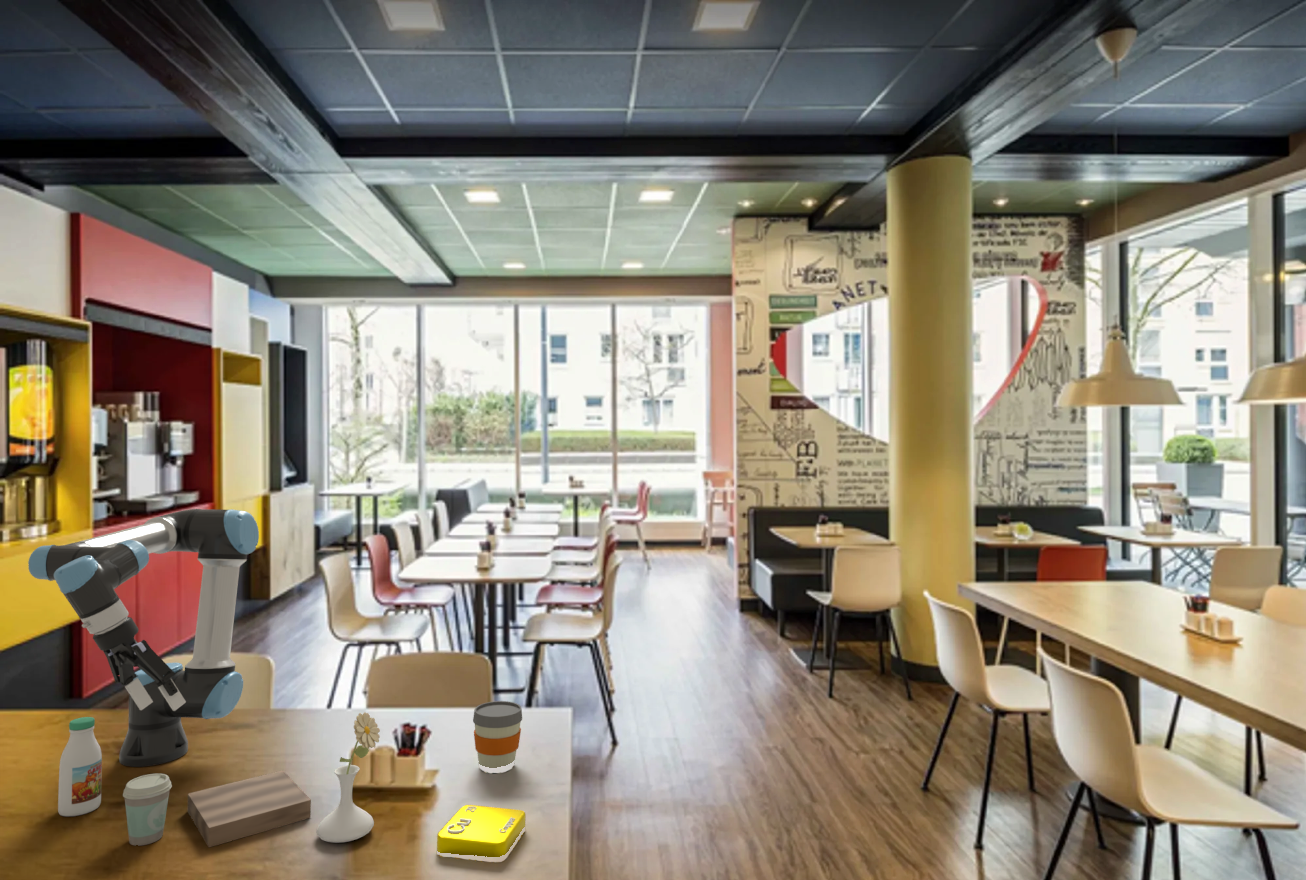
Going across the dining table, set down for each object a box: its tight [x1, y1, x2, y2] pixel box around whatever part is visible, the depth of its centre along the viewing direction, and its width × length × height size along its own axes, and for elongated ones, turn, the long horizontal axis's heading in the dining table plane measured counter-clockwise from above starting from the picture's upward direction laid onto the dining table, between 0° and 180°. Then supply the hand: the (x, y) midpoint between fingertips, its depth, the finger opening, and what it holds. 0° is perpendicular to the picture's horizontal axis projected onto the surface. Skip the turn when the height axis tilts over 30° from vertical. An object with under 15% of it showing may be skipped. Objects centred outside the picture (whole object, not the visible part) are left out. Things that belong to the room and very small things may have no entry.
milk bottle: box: [57, 716, 103, 817], centre depth 173 cm, size 8×8×20 cm
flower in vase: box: [316, 711, 381, 844], centre depth 165 cm, size 13×11×25 cm
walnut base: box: [187, 769, 312, 848], centre depth 173 cm, size 20×20×4 cm
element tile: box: [436, 804, 527, 857], centre depth 163 cm, size 15×15×5 cm
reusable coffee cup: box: [472, 700, 523, 768], centre depth 201 cm, size 13×12×15 cm
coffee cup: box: [122, 773, 173, 847], centre depth 161 cm, size 8×8×12 cm
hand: (162, 706), depth 169 cm, fingers open, 13 cm apart
